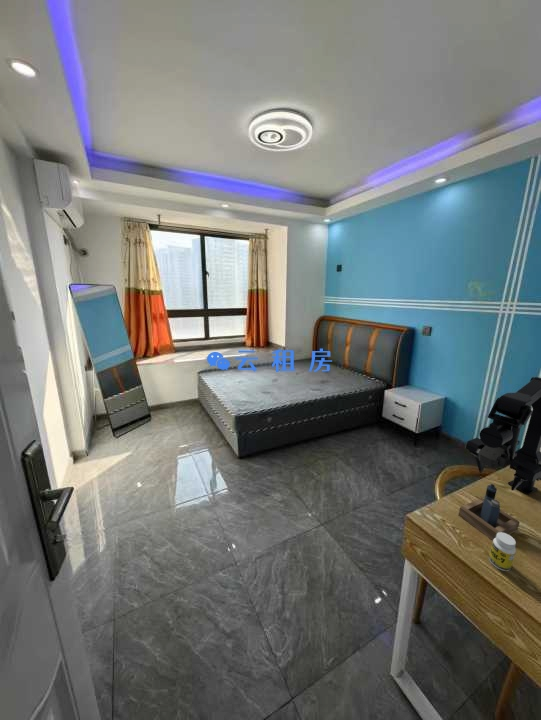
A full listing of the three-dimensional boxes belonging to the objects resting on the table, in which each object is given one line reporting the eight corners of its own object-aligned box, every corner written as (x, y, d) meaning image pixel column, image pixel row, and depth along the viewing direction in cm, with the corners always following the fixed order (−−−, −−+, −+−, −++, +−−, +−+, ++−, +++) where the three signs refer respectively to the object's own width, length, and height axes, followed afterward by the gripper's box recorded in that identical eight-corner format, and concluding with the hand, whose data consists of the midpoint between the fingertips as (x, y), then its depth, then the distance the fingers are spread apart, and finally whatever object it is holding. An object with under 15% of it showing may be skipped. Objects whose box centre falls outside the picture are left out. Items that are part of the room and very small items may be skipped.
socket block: (480, 505, 98) (481, 497, 97) (517, 529, 88) (519, 521, 87) (458, 515, 94) (459, 507, 93) (495, 542, 84) (497, 533, 83)
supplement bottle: (484, 558, 79) (490, 533, 77) (495, 552, 81) (502, 528, 78) (503, 574, 75) (510, 548, 72) (515, 568, 76) (522, 542, 74)
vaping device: (487, 514, 93) (494, 482, 90) (497, 527, 88) (505, 494, 85) (478, 513, 93) (485, 482, 90) (488, 527, 88) (496, 494, 85)
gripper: (457, 428, 92) (450, 470, 96) (527, 460, 76) (515, 509, 80) (480, 421, 96) (472, 461, 101) (550, 450, 80) (537, 497, 84)
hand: (496, 480), depth 91 cm, fingers open, 9 cm apart
